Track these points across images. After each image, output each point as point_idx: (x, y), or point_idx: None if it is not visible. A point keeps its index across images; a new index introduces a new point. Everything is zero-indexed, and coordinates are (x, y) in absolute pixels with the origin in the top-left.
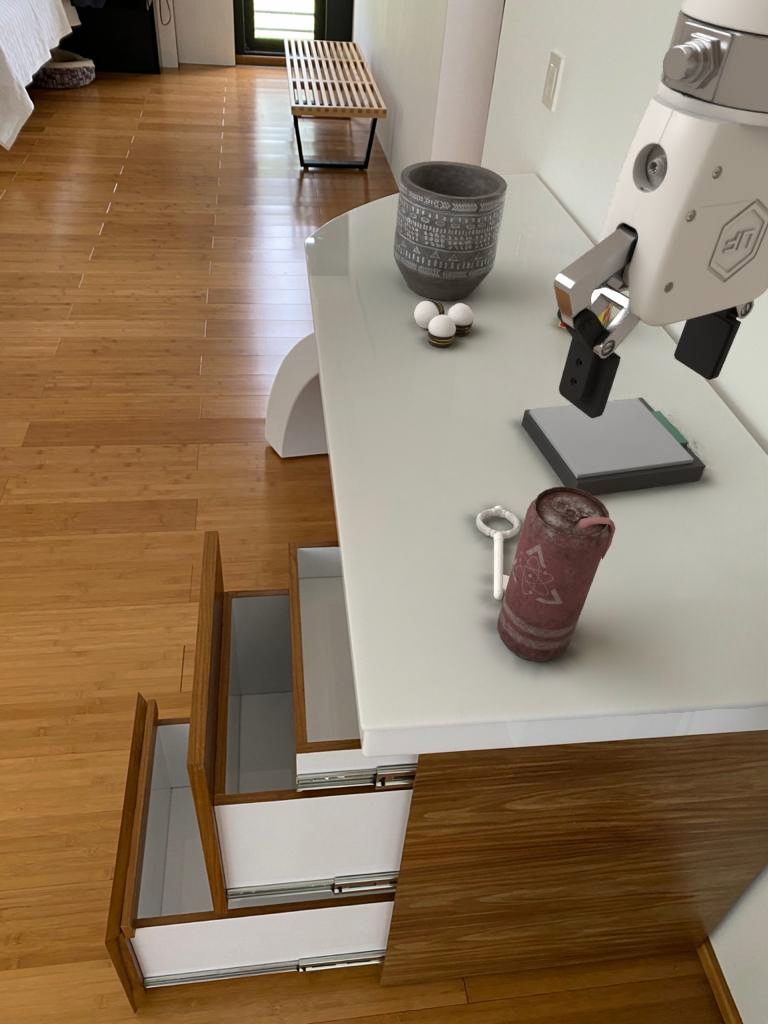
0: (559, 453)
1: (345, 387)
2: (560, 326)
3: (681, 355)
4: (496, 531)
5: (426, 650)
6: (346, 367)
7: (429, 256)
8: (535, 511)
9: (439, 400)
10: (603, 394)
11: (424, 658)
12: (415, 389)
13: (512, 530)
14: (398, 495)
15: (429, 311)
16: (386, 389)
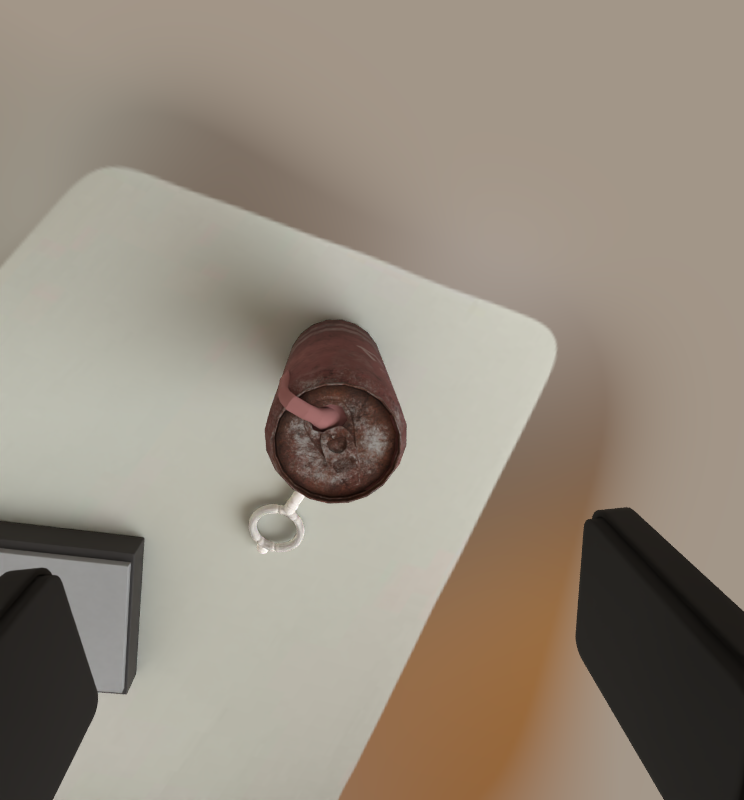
0: (127, 609)
1: (329, 778)
2: None
3: (81, 700)
4: (290, 516)
5: (463, 391)
6: None
7: None
8: (395, 465)
9: (223, 735)
10: (685, 561)
11: (471, 382)
12: (243, 759)
13: (268, 511)
14: (364, 604)
15: None
16: (280, 766)
